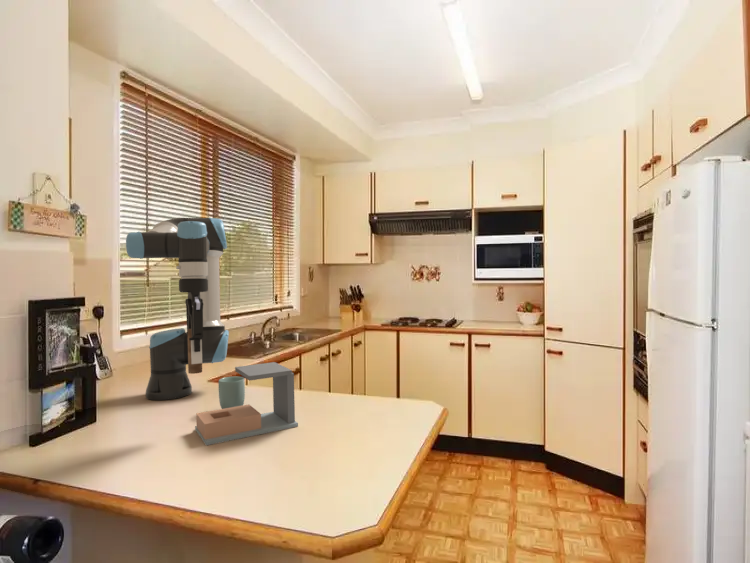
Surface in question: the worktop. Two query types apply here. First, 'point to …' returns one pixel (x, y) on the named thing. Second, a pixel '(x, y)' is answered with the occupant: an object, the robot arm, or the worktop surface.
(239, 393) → the cup
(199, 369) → the peg
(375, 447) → the worktop surface
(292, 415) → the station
